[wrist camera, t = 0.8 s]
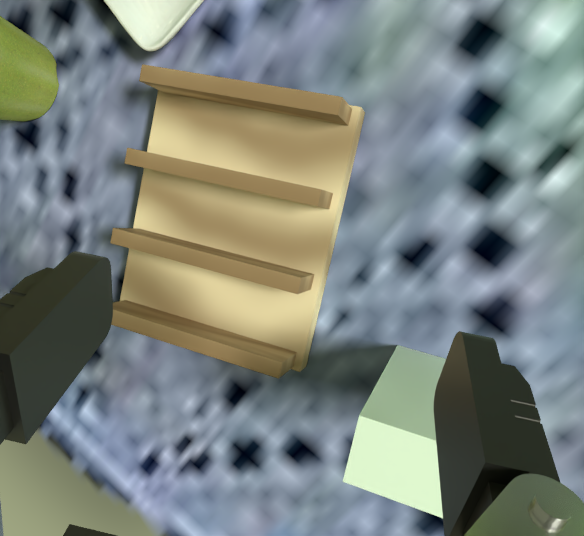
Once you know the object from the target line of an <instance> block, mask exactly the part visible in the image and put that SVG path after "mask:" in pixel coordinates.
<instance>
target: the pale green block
mask: <svg viewBox="0 0 584 536" xmlns="http://www.w3.org/2000/svg"><path fill="white" fill-rule="evenodd" d="M445 361H446V359H444V358H441V357H437V356H434V355H430V354H427V353H423V352H420V351H416V350H413V349H409V348H406V347H402V346H399V345H397V347H396V349H395V351H394V353H393V354H392V356H391V358H390V360H389V362H388V364H387V365H386V367H385V369H384V371H383V373H382V375H381V377H380V378H379V380H378V382H377V384H376V386H375V388H374V389H373V391H372V393H371V395H370V397H369V399H368V400H367V402H366V404H365V406H364V408H363V410H362V411H361V413H360V415H359V419H358V423H357V427H356V431H355V435H354V439H353V443H352V447H351V451H350V455H349V459H348V463H347V467H346V471H345V475H344V479H343V482H346V483H348V484H351V485H354V486H357V487H359V488H362V489H365V490H367V491H370V492H373V493H376V494H378V495H381V496H384V497H387V498H389V499H392V500H395V501H397V502H400V503H403V504H406V505H408V506H411V507H414V508H417V509H419V510H422V511H425V512H427V513H430V514H433V515H436V516H438V517H441V518H443V512H442V501H441V490H440V478H439V467H438V455H437V444H436V432H435V421H434V396H435V390H436V386H437V383H438V380H439V377H440V374H441V372H442V369H443V366H444V364H445Z"/></svg>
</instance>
